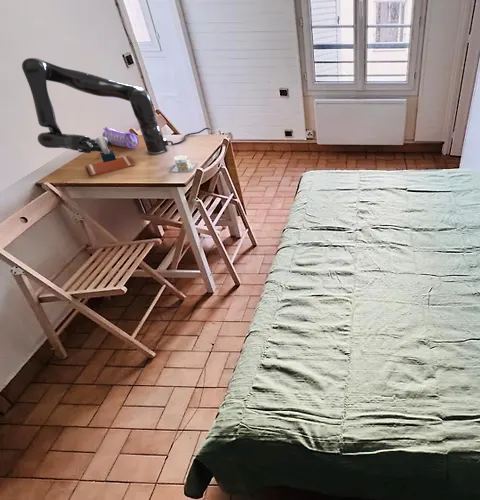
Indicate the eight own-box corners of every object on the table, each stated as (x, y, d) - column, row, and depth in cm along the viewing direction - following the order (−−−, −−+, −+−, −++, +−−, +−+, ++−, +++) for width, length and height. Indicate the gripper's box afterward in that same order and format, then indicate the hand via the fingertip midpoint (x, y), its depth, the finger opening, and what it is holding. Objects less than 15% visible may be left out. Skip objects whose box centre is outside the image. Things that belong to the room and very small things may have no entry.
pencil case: (103, 145, 222) (97, 129, 216) (117, 139, 229) (111, 124, 223) (129, 151, 214) (123, 135, 208) (143, 145, 221) (137, 129, 215)
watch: (114, 154, 188) (105, 133, 181) (117, 161, 183) (108, 139, 176) (101, 157, 186) (92, 135, 178) (104, 164, 181) (94, 142, 173)
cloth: (128, 156, 208) (127, 155, 208) (133, 165, 199) (133, 164, 199) (86, 166, 199) (86, 165, 199) (91, 176, 190) (90, 174, 190)
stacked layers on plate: (196, 164, 200) (193, 154, 197) (190, 171, 193) (187, 161, 189) (177, 164, 200) (174, 154, 197) (170, 171, 193) (167, 161, 190)
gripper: (62, 140, 176) (91, 144, 173) (86, 130, 187) (115, 133, 184) (69, 156, 181) (98, 160, 177) (93, 144, 192) (120, 148, 188)
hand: (106, 146), depth 180 cm, fingers closed on watch, 6 cm apart
